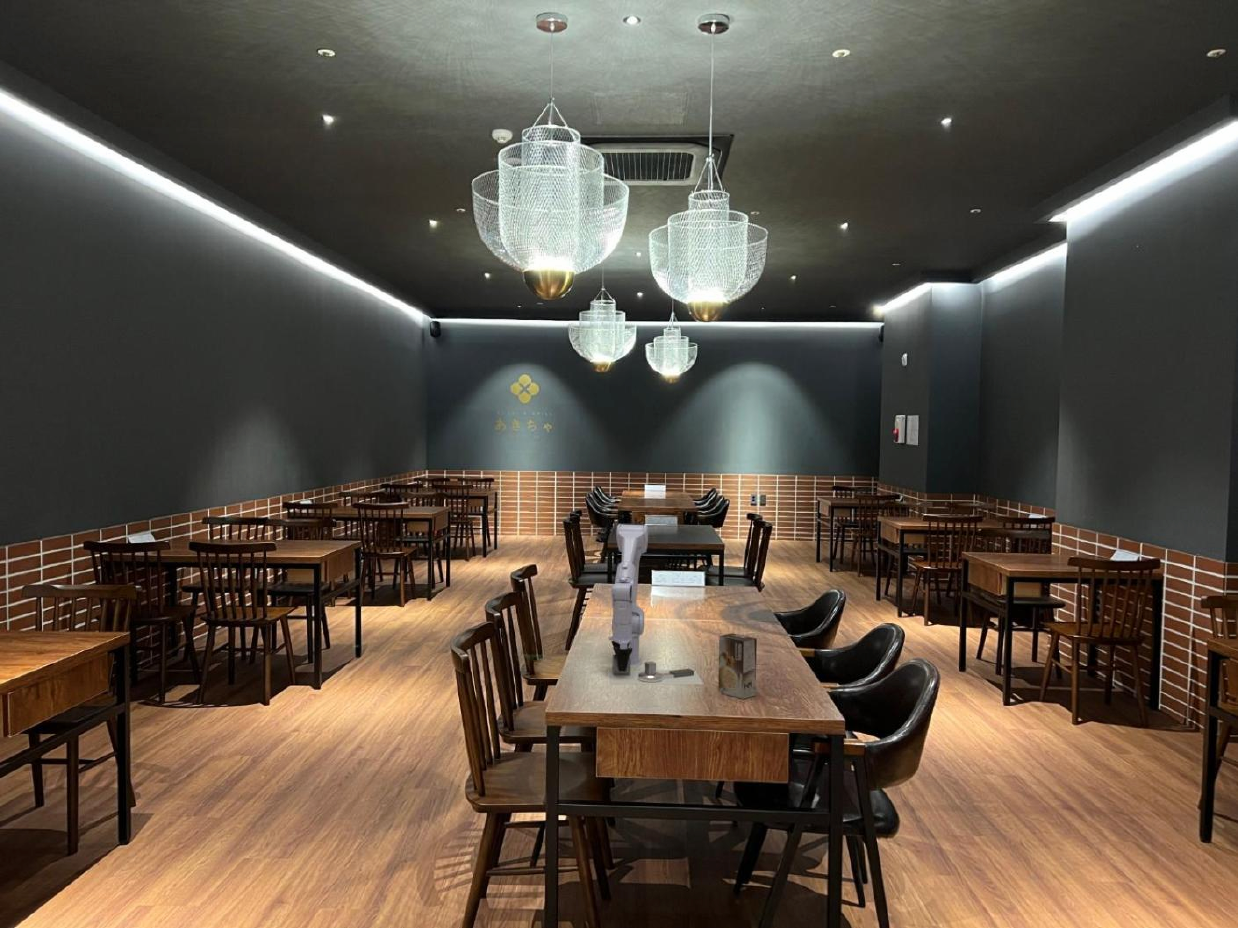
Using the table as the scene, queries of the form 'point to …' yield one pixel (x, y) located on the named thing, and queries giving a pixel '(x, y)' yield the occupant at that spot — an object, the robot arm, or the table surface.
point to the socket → (615, 667)
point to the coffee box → (737, 665)
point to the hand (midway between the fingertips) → (621, 667)
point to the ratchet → (653, 676)
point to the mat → (634, 679)
